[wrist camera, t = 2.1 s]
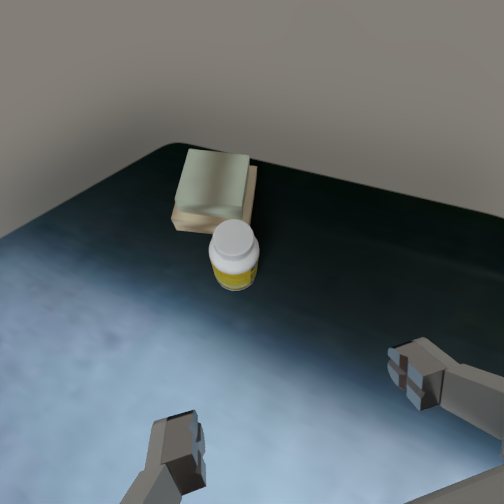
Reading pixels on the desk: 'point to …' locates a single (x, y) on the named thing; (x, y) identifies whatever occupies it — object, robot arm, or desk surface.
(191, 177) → the two-tone square platform
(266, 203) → the desk surface
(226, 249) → the supplement bottle
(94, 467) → the desk surface
